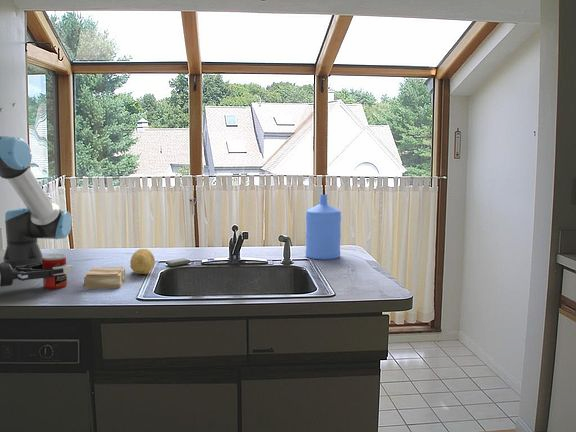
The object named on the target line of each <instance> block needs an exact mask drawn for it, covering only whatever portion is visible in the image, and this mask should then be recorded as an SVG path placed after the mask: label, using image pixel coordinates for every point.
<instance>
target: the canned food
mask: <svg viewBox="0 0 576 432" xmlns="http://www.w3.org/2000/svg"><path fill="white" fill-rule="evenodd" d="M59 266H67V257H66V254H62V253H54V254H53V253H51V254H46V255H43V256H42V269H50V268H52V267H59ZM42 283H43V288H44V289H46V290H56V289H62V288H65V287H67V285H68V273H67V274H60V275H54V278H52V277H49V278H42Z"/></svg>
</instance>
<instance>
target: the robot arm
mask: <svg viewBox="0 0 576 432" xmlns="http://www.w3.org/2000/svg"><path fill="white" fill-rule="evenodd" d="M31 152H32V151H31V147H30V146H29V144H28V142H27V141H26V140H25V139H23V138H21V137H19V136H13V135H5V136H4V135H3V136H0V178H2V179H5V180H7V181H8V183H9V184H10V185H11V186H12V188H13V190H14V191H15V192H16V193H17V194H16V195H18V197H19V198H20V200H21V201H22V202H23V204H24V205H25V207H20V208H14V209H9V210H7V211H6V212H5V215H4V217H5V218H4V223H5V233H6V235H5V236H6V238H5V239H6V248H5V251H4V255H3V257H2V258H3V259H2V261H3V263H2V264H1V263H0V287H1V288H3V287H8V286H9V287H10V286H12V285H13V282H14V280H18V281H22V282H25V281H30V280H38V279H43V278H49V277H52V278H54V275H60V274H67V275H68V274H72V273H74V269H73V268H74V267H73V265H72V264H66V266H59V267H52V268H50V269H42V256H44V255H43V253H42V251H41V249H40V246H39V243H38V239H45V240H46V239H47V240H62V239H66V238H67V237H68V236H69V235H70V232H71V229H72V224H73V223H72V215H71V213H70V212H69V211H66V210H61V209H60V207H59V206H58V204H56V203H54V202H52V201H51V200H50V198H49V197H48V195H47V194H46V192H45V191H44V189H43V187H42V186H41V184H40V183H39V181H38V180H37V178H36V176H35V175H34V173H33V172H32V171H31V168H30V167H31V163H32V159H33V158H32V155H33V154H31Z"/></svg>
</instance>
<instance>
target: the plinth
mask: <svg viewBox="0 0 576 432" xmlns="http://www.w3.org/2000/svg"><path fill="white" fill-rule="evenodd" d="M125 280H126V268H125V267H123V266H108V267H107V266H106V267H98V266H97V267H91V269H90V270H89V271H88V272H87V273H86V274H85V275H84V276H83V283H84V285H83V286H84V290H93V289H94V290H97V289H102V290H103V289H121V287H122V285H123V284H124V283H125Z"/></svg>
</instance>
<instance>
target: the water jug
mask: <svg viewBox="0 0 576 432" xmlns="http://www.w3.org/2000/svg"><path fill="white" fill-rule="evenodd" d="M319 197H320V199H319V200H320V202H319V204H317V205H314V206H313V207H311V208H309V209H307V210H306V214H305V221H306V222H305V224H306V225H305V227H306V228H305V256H306V257H307V258H309V259H312V260H319V261H320V260H322V261H323V260H324V261H325V260H329V261H330V260H335V259H338V258H339V257H340V256H341V234H342V233H341V219H342V215H341V214H342V213H341V210H340V209H338V208H335V207H334V206H332V205H330V204H329V203H328V194H319Z"/></svg>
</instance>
